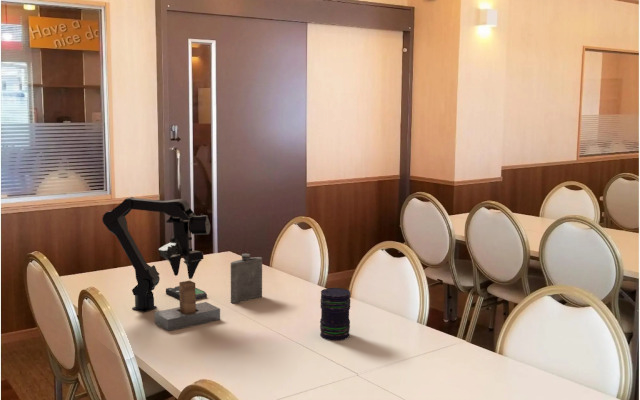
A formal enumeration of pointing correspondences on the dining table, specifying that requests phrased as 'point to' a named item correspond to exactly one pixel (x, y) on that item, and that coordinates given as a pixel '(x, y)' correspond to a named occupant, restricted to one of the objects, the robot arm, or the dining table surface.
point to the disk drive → (176, 293)
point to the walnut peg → (187, 297)
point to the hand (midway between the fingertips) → (183, 277)
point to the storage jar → (335, 314)
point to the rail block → (187, 317)
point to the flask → (246, 279)
